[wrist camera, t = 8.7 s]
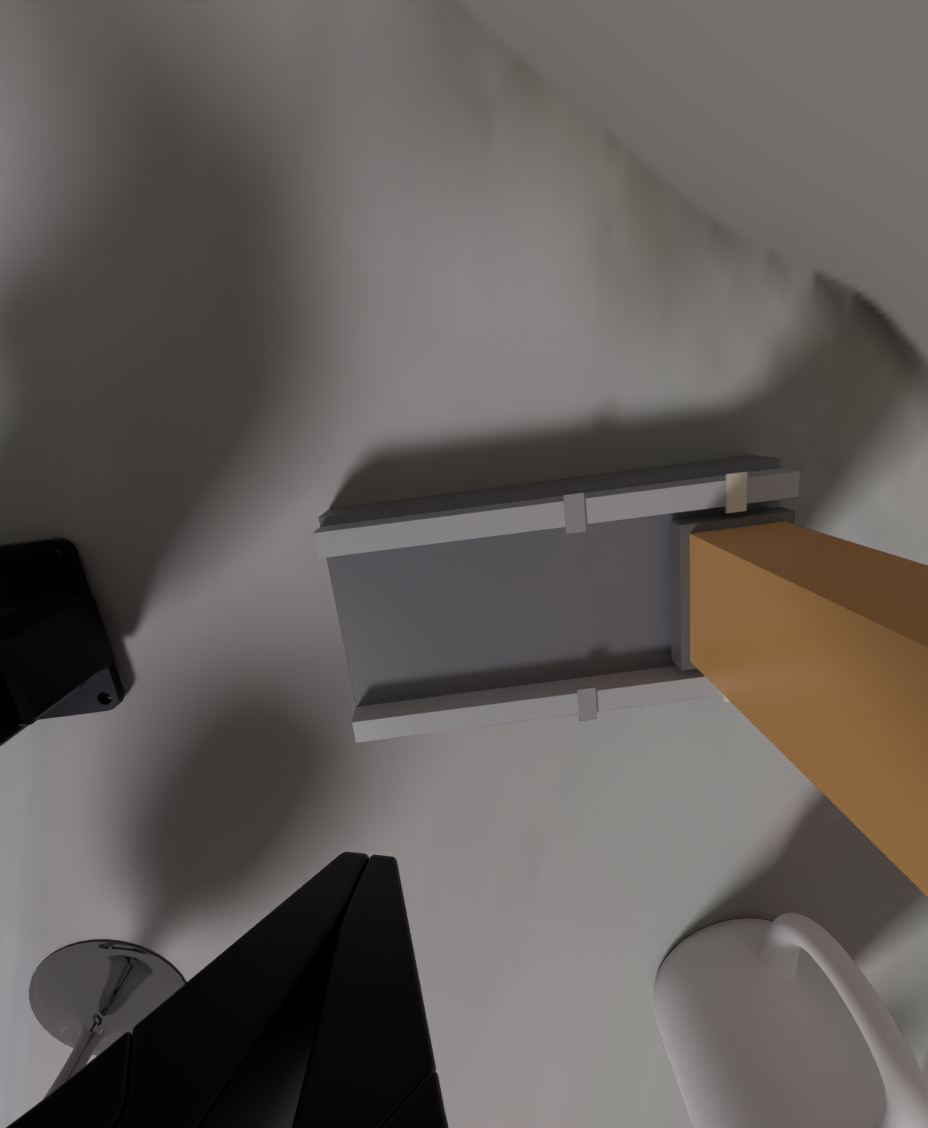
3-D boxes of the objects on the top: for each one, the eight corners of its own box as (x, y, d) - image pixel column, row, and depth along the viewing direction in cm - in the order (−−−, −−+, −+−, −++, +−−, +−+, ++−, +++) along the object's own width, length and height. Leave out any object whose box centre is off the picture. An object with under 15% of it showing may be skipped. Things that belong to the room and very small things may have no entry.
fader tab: (671, 659, 18) (919, 925, 9) (669, 520, 17) (959, 654, 8) (773, 647, 19) (1130, 896, 9) (779, 506, 17) (1208, 622, 8)
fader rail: (367, 711, 21) (357, 752, 18) (328, 509, 18) (310, 524, 16) (748, 661, 21) (790, 696, 18) (754, 455, 18) (803, 461, 16)
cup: (639, 1045, 26) (755, 1418, 16) (668, 847, 23) (834, 1165, 13) (801, 1039, 27) (1010, 1403, 17) (852, 844, 23) (1146, 1151, 14)
